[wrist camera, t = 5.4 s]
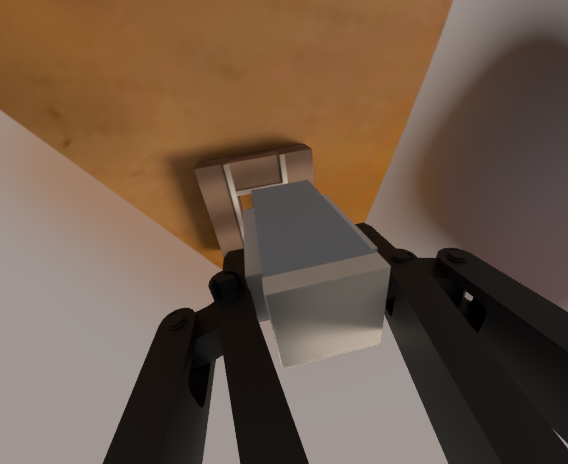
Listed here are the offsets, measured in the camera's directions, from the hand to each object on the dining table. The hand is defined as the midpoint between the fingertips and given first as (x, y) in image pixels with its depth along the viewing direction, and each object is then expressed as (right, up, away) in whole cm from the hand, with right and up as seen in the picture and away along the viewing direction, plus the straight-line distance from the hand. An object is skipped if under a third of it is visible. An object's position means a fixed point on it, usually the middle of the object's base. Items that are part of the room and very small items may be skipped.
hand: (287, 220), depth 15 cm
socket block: (-3, +4, +18) cm, 18 cm away
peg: (0, +1, +1) cm, 2 cm away
